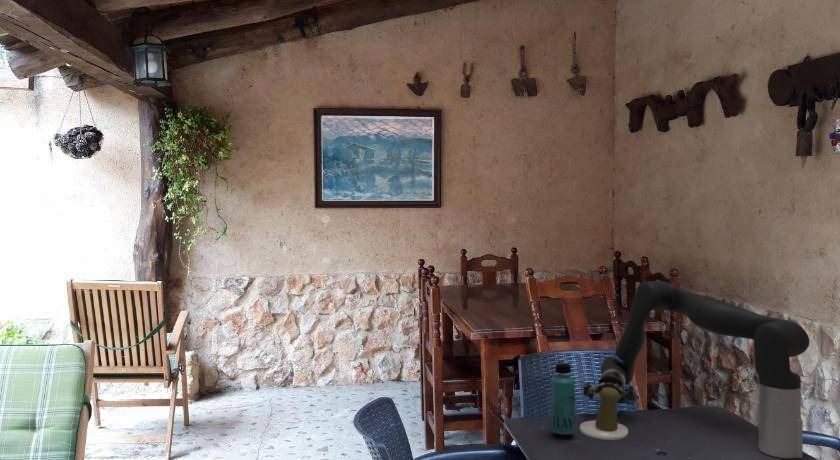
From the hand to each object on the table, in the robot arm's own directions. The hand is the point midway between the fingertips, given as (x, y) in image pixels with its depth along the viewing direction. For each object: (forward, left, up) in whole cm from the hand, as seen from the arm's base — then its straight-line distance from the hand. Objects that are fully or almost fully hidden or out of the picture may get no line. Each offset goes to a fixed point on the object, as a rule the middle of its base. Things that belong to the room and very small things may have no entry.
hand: (606, 397), depth 176 cm
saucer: (0, +6, -8) cm, 10 cm away
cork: (-1, +6, -6) cm, 9 cm away
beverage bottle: (+10, +13, -8) cm, 18 cm away
